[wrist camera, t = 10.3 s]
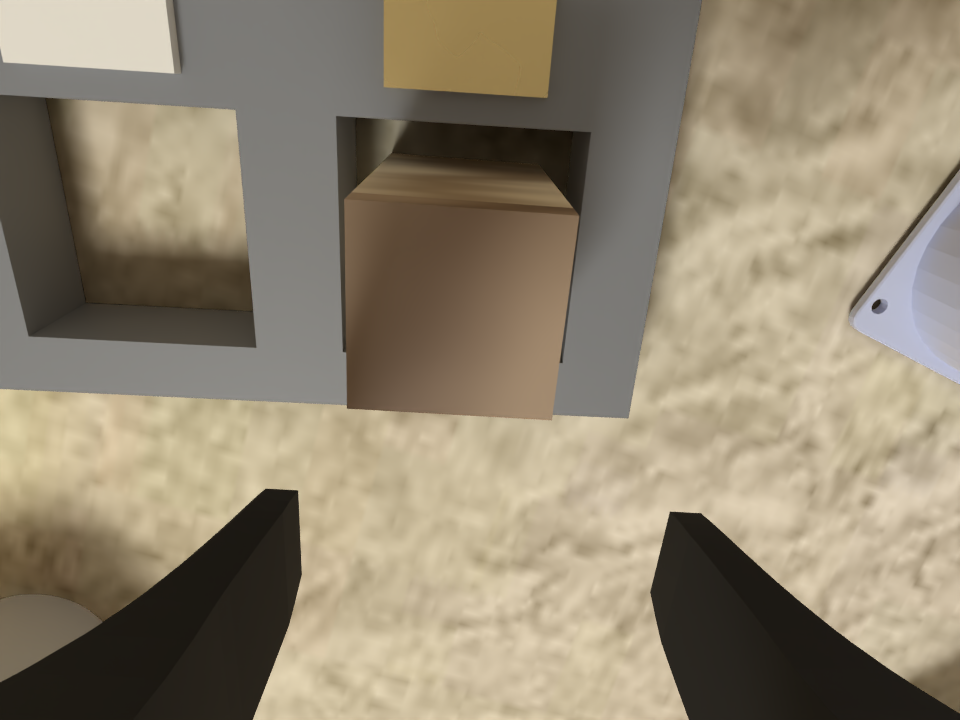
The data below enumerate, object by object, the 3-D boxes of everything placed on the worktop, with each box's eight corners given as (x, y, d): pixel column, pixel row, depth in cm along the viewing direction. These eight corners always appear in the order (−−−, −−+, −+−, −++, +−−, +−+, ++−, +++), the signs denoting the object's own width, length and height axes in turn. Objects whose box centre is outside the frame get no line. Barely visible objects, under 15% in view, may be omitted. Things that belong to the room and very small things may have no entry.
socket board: (677, -58, 17) (723, -87, 14) (609, 377, 23) (631, 424, 19) (-86, -115, 17) (-214, -159, 13) (28, 348, 22) (-46, 393, 19)
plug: (538, 164, 20) (579, 215, 12) (524, 303, 21) (551, 420, 14) (391, 153, 19) (343, 199, 12) (389, 294, 21) (346, 408, 14)
